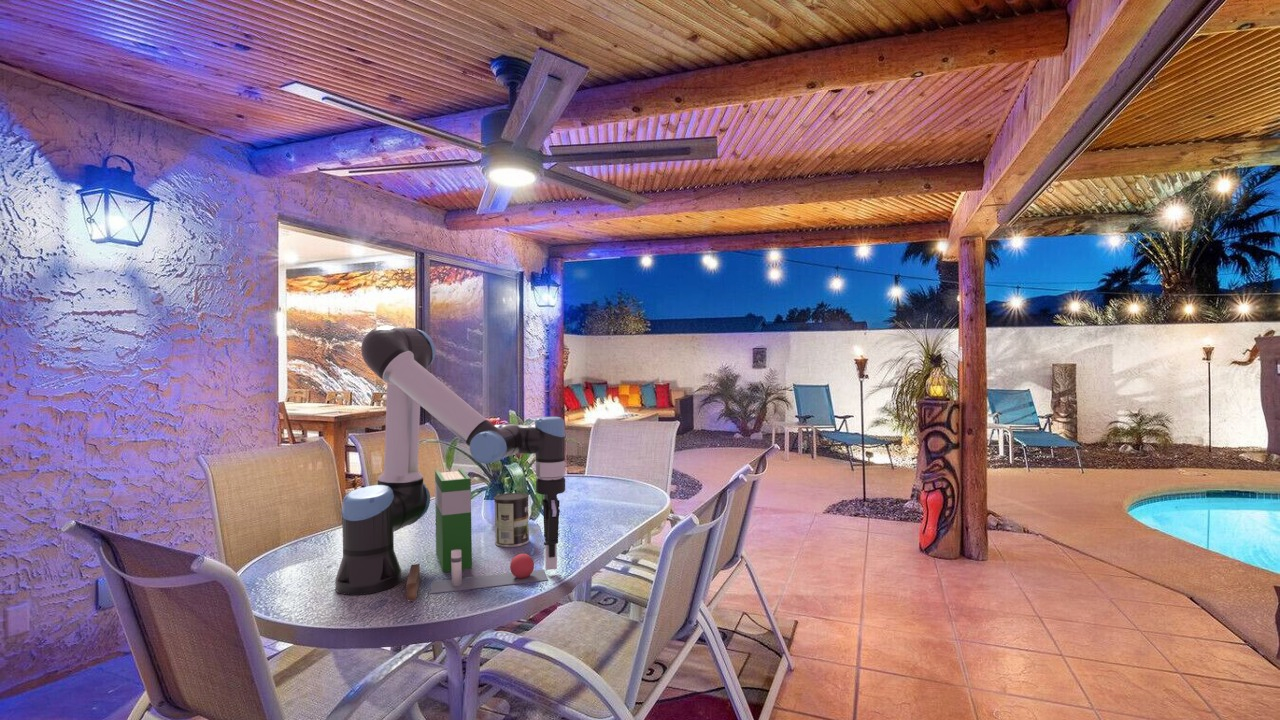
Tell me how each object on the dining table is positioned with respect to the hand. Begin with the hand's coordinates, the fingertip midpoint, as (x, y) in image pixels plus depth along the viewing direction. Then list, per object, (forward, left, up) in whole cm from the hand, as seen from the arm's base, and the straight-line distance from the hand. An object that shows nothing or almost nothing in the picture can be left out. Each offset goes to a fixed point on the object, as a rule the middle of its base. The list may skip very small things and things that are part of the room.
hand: (551, 568), depth 158 cm
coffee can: (-7, +32, -2) cm, 33 cm away
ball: (-7, 0, +1) cm, 8 cm away
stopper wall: (-33, 0, -2) cm, 33 cm away
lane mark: (-15, 0, -2) cm, 15 cm away
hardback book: (-24, +20, -2) cm, 31 cm away
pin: (-23, 0, -2) cm, 23 cm away
